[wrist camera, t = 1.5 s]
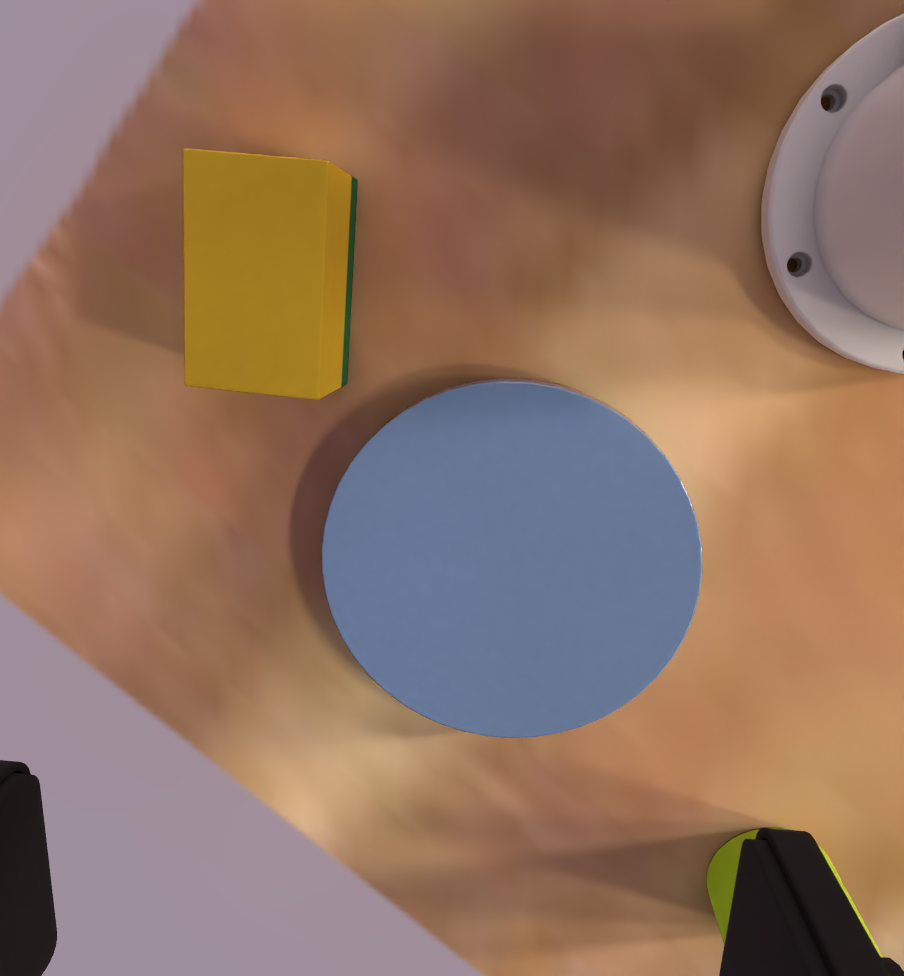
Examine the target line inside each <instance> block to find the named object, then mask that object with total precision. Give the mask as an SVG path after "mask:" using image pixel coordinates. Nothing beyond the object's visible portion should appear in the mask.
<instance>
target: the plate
mask: <svg viewBox="0 0 904 976" xmlns="http://www.w3.org/2000/svg"><path fill="white" fill-rule="evenodd" d="M322 574H323V581H324V587H325V593H326V597H327V600H328V604H329V607H330V610H331V614H332V617H333V619H334V621H335V623H336V626H337V628H338V630H339V632H340V634H341V637H342V638H343V640H344V642H345V643H346V645H347V647H348V648H349V650H350V651H351V653H352V655H353V656H354V658H355V659H356V660H357V661H358V663H359V664H360V665H361V666H362V668H363V669H364V670H365V671H366V672H367V674H368V675H369V676H370V677H371V678H372V679H373V680H374V681H375V682H376V683H377V684H378V685H380V686H381V687H382V688H383V689H384V690H385V691H386V692H387V693H389V694H390V695H391V696H393V697H394V698H395V699H397V700H398V701H399V702H401V703H402V704H403V705H405V706H407V707H408V708H410V709H412V710H414V711H415V712H417V713H419V714H420V715H422V716H424V717H427V718H429V719H431V720H433V721H436V722H438V723H440V724H442V725H445V726H448V727H452V728H455V729H458V730H461V731H464V732H469V733H474V734H480V735H485V736H493V737H506V738H520V737H537V736H544V735H550V734H556V733H560V732H564V731H568V730H571V729H575V728H578V727H581V726H584V725H586V724H589V723H591V722H593V721H596V720H598V719H601V718H603V717H604V716H606V715H608V714H610V713H612V712H613V711H615V710H617V709H619V708H620V707H622V706H623V705H625V704H626V703H627V702H629V701H630V700H632V699H633V698H634V697H636V696H637V695H638V694H640V693H641V692H642V691H643V690H644V689H645V688H646V687H647V686H648V685H649V684H650V683H651V682H652V681H653V680H654V679H655V678H656V677H657V676H658V675H659V674H660V673H661V671H662V670H663V669H664V668H665V666H666V665H667V664H668V663H669V661H670V660H671V659H672V657H673V656H674V654H675V652H676V651H677V649H678V647H679V646H680V644H681V642H682V641H683V639H684V637H685V635H686V632H687V630H688V628H689V625H690V623H691V621H692V618H693V616H694V612H695V608H696V604H697V601H698V597H699V593H700V584H701V576H702V545H701V539H700V533H699V527H698V522H697V519H696V516H695V513H694V509H693V506H692V503H691V500H690V498H689V496H688V494H687V491H686V489H685V487H684V485H683V483H682V481H681V479H680V477H679V475H678V474H677V472H676V471H675V470H674V468H673V467H672V465H671V464H670V462H669V461H668V459H667V458H666V456H665V455H664V454H663V453H662V451H661V450H660V449H659V448H658V447H657V446H656V445H655V444H654V442H653V441H652V440H651V439H650V438H649V437H648V436H647V435H646V434H645V432H644V431H642V430H641V429H640V428H639V427H638V426H637V425H635V424H634V423H633V422H632V421H631V420H629V419H628V418H627V417H626V416H625V415H623V414H622V413H620V412H618V411H617V410H615V409H614V408H612V407H611V406H609V405H607V404H606V403H604V402H603V401H600V400H598V399H596V398H594V397H592V396H589V395H587V394H585V393H583V392H581V391H578V390H575V389H572V388H568V387H565V386H562V385H559V384H555V383H550V382H544V381H538V380H532V379H513V378H500V379H490V380H479V381H474V382H470V383H466V384H461V385H457V386H453V387H450V388H448V389H445V390H442V391H440V392H437V393H434V394H432V395H429V396H427V397H426V398H424V399H422V400H420V401H418V402H416V403H414V404H413V405H411V406H409V407H407V408H406V409H404V410H403V411H402V412H400V413H399V414H398V415H396V416H395V417H393V418H392V419H391V420H389V421H388V422H387V423H386V424H385V425H384V426H383V427H382V428H381V429H380V430H379V431H378V432H377V433H376V434H374V435H373V436H372V437H371V438H370V439H369V440H368V441H367V442H366V443H365V445H364V446H363V447H362V448H361V450H360V451H359V452H358V454H357V455H356V456H355V457H354V459H353V460H352V461H351V463H350V464H349V466H348V468H347V469H346V471H345V473H344V475H343V476H342V478H341V480H340V481H339V483H338V486H337V488H336V491H335V493H334V496H333V498H332V500H331V503H330V506H329V510H328V514H327V518H326V521H325V525H324V533H323V541H322Z"/></svg>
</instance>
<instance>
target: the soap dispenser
mask: <svg viewBox="0 0 904 976" xmlns="http://www.w3.org/2000/svg"><path fill="white" fill-rule="evenodd" d="M771 829H779V828H771ZM783 830H786V829H783ZM758 831H759V829H757V830H753V831H749V832H746V833H743V834H741V835H739V836H737V837H735V838H733V839H731V840H730V841H728V842H727V843H726V844H724V845H723V846H722V847H721V848H720V849H719V850H718V851H717V853H716V854H715V855H714V857H713V859H712V860H711V862H710V865H709V868H708V871H707V879H706V883H707V890H708V894H709V897H710V900H711V903H712V907H713V910H714V913H715V916H716V920H717V923H718V926H719V929H720V932H721V936H722V939H723V942H724V945H725V940H726V934H727V928H728V922H729V916H730V910H731V904H732V899H733V893H734V887H735V881H736V875H737V869H738V863H739V858H740V852H741V847H742V843H743V841H744V840H745V839H755V838H756V835H757V832H758ZM817 845H818V844H817ZM818 846H819V845H818ZM819 848H820V850H821V852H822V854H823V855H824V857H825V859H826V861H827V863H828V864H829V866H830V868H831V870H832V871H833V873H834V875H835V877H836V879H837V880H838V882H839V884H840V886H841V888H842V889H843V891H844V893H845V895H846V896H847V898H848V900H849V902H850V904H851V905H852V907H853V909H854V911H855V913H856V914H857V916H858V918H859V920H860V922H861V923H862V925H863V927H864V929H865V930H866V932H867V934H868V936H869V938H870V939H871V941H872V943H873V945H874V947H875V948H876V950H877V952H878V954H879V955H880V957H883V956H882V955H881V953H880V951H879V949H878V947H877V945H876V943H875V942H874V940H873V938H872V936H871V934H870V932H869V931H868V929H867V927H866V925H865V923H864V921H863V919H862V918H861V916H860V914H859V912H858V910H857V908H856V906H855V905H854V903H853V901H852V899H851V897H850V895H849V894H848V892H847V890H846V888H845V886H844V884H843V882H842V881H841V879H840V877H839V875H838V873H837V871H836V870H835V868H834V866H833V864H832V862H831V860H830V858H829V857H828V855H827V854H826V852H825V851H824V850H823V849H822V848H821V847H820V846H819Z"/></svg>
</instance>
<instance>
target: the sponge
mask: <svg viewBox="0 0 904 976" xmlns="http://www.w3.org/2000/svg"><path fill="white" fill-rule="evenodd" d="M356 201H357V179H355V178H354V177H352V176H350V175H349V174H347V173H346V172H344V171H343V170H341V169H340V168H338V167H337V166H335V165H334V164H332V163H331V162H329V161H328V160H319V159H307V158H295V157H283V156H271V155H259V154H247V153H235V152H223V151H211V150H199V149H187V148H185V149H183V223H184V347H185V385H186V386H190V387H200V388H210V389H219V390H229V391H238V392H248V393H257V394H267V395H276V396H286V397H295V398H305V399H314V400H318V399H320V398H322V397H324V396H326V395H328V394H330V393H331V392H333V391H335V390H337V389H339V388H341V387H343V386H345V385H346V384H347V376H348V356H349V337H350V317H351V298H352V278H353V259H354V239H355V220H356Z"/></svg>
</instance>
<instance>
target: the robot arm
mask: <svg viewBox="0 0 904 976" xmlns="http://www.w3.org/2000/svg"><path fill="white" fill-rule="evenodd" d="M822 97H826V98H828V99H829V101H830V108H829V110H828V111H825V110H824V109H823V107H822V106H821V98H822ZM761 236H762V241H763V246H764V252H765V257H766V262H767V267H768V270H769V272H770V275H771V277H772V279H773V282H774V284H775V287H776V289H777V292H778V294H779V296H780V298H781V299H782V301H783V302H784V304H785V305H786V307H787V308H788V310H789V311H790V312H791V314H792V315H793V317H794V318H795V320H796V321H797V322H798V323H799V324H800V325H801V326H802V327H803V328H804V329H805V330H806V331H807V332H808V333H809V334H810V335H812V336H813V337H814V338H815V339H816V340H817V341H818V342H819V343H821V344H822V345H824V346H826V347H827V348H829V349H831V350H832V351H834V352H836V353H837V354H839V355H841V356H842V357H844V358H846V359H849V360H852V361H855V362H857V363H860V364H863V365H866V366H869V367H871V368H875V369H880V370H885V371H890V372H895V373H899V374H904V358H902V352H903V350H904V13H903V14H901V15H899V16H897V17H895V18H893V19H891V20H889V21H887V22H885V23H883V24H882V25H880V26H879V27H877V28H876V29H874V30H873V31H872V32H870V33H869V34H867V35H866V36H864V37H863V38H861V39H860V40H859V41H857V42H856V43H854V44H853V45H852V46H851V47H850V48H849V49H848V50H846V51H845V52H844V53H843V54H842V55H841V56H839V57H838V58H837V59H836V60H835V61H834V62H833V63H831V64H830V65H829V66H828V67H827V68H826V69H825V70H824V71H823V72H822V73H821V75H820V76H819V77H818V78H817V79H816V81H815V82H814V83H813V84H812V85H811V87H810V88H809V89H808V90H807V91H806V93H805V94H804V95H803V96H802V97H801V99H800V100H799V102H798V104H797V106H796V107H795V109H794V111H793V112H792V114H791V116H790V118H789V119H788V121H787V123H786V124H785V126H784V128H783V129H782V131H781V134H780V136H779V139H778V141H777V144H776V147H775V149H774V152H773V155H772V157H771V160H770V163H769V165H768V170H767V175H766V180H765V185H764V191H763V196H762V204H761ZM791 258H793V259H795V260H796V261H797V268H796V270H794V271H793V272H790V271H788V269H787V262H788V260H790V259H791ZM56 941H57V928H56V920H55V912H54V903H53V894H52V885H51V876H50V868H49V859H48V850H47V843H46V833H45V825H44V816H43V808H42V799H41V790H40V783H39V780H38V778H37V777H36V776H35V775H31V774H30V771H29V768H28V767H27V765H26V764H24V763H22V762H14V761H3V760H0V976H41V975H42V974H43V972H44V971H45V969H46V968H47V966H48V964H49V963H50V960H51V958H52V956H53V953H54V950H55V947H56ZM719 976H904V971H903V970H902V969H901V967H900V966H899V965H898V964H897V963H896V962H894V961H893V960H892V959H890V958H885V957H880V955H879V954H878V952H877V950H876V948H875V947H874V945H873V943H872V941H871V939H870V938H869V936H868V934H867V932H866V930H865V929H864V927H863V925H862V923H861V922H860V920H859V918H858V916H857V914H856V913H855V911H854V909H853V907H852V905H851V904H850V902H849V900H848V898H847V896H846V895H845V893H844V891H843V889H842V888H841V886H840V884H839V882H838V880H837V879H836V877H835V875H834V873H833V871H832V870H831V868H830V866H829V864H828V863H827V861H826V859H825V857H824V855H823V854H822V852H821V850H820V848H819V846H818V845H817V843H816V841H815V839H814V838H813V837H812V835H811V834H809V833H808V832H805V831H794V830H783V829H771V828H761V829H759V831H758V832H757V835H756V838H755V839H745V840H744V841H743V843H742V847H741V852H740V858H739V863H738V869H737V875H736V881H735V887H734V893H733V899H732V904H731V910H730V916H729V922H728V928H727V934H726V940H725V945H724V951H723V957H722V963H721V969H720V975H719Z"/></svg>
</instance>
